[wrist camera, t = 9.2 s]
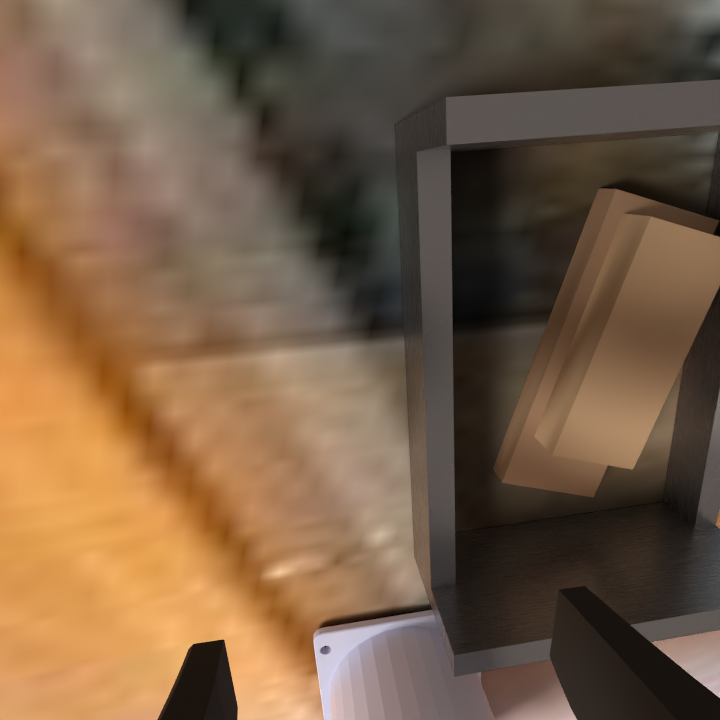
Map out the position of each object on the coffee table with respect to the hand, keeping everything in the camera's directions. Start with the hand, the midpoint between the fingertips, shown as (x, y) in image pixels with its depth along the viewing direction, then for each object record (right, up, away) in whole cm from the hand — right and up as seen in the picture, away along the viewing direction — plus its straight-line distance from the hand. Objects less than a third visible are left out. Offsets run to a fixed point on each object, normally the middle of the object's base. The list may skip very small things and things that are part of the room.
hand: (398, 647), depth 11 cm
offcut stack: (+9, +7, +10) cm, 15 cm away
